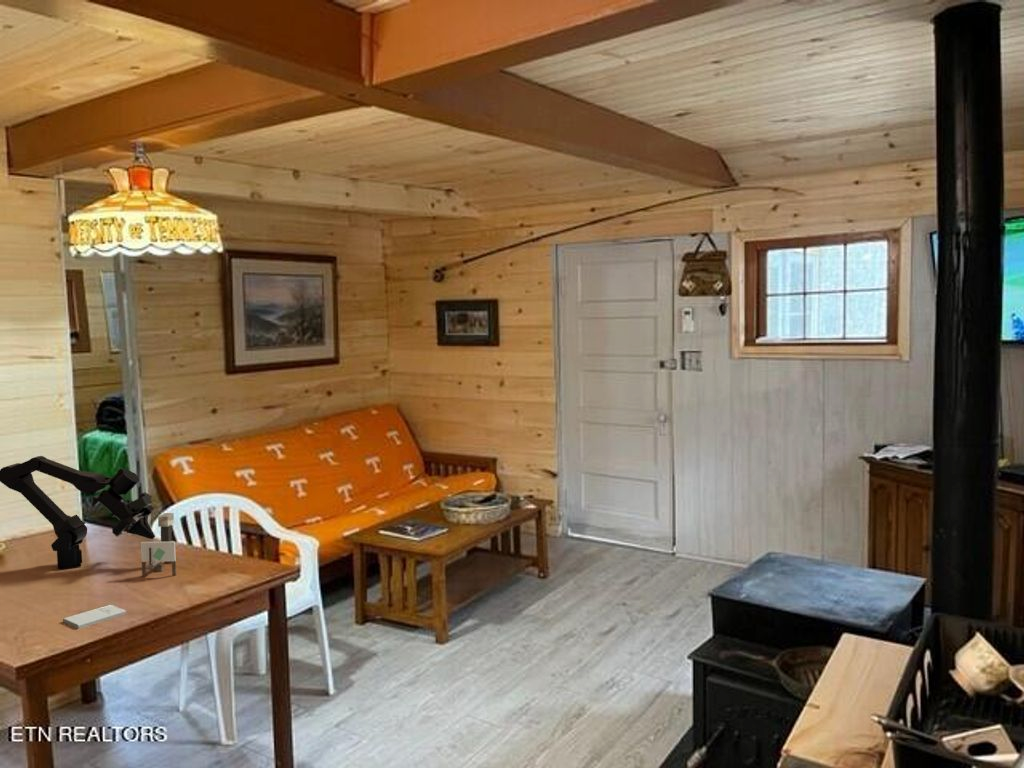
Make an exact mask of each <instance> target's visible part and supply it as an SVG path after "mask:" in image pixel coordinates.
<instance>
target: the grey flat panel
mask: <svg viewBox="0 0 1024 768" xmlns="http://www.w3.org/2000/svg"><path fill="white" fill-rule="evenodd" d="M149 548H151V563H153V562H160V563H164V561H176V542H175V541H172V542H161V541H141V542H140V557H141V559H140V560H141V563H142V562H146V563H148V562H149Z"/></svg>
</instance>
